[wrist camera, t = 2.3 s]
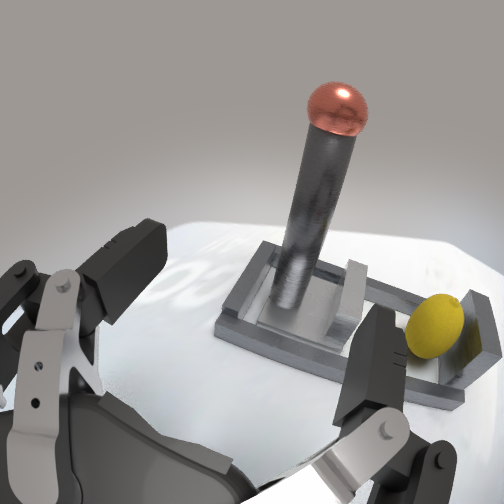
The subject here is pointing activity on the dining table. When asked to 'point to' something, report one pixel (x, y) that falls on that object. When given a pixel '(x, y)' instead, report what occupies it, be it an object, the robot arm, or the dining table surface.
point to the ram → (319, 230)
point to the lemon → (434, 326)
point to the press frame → (334, 366)
